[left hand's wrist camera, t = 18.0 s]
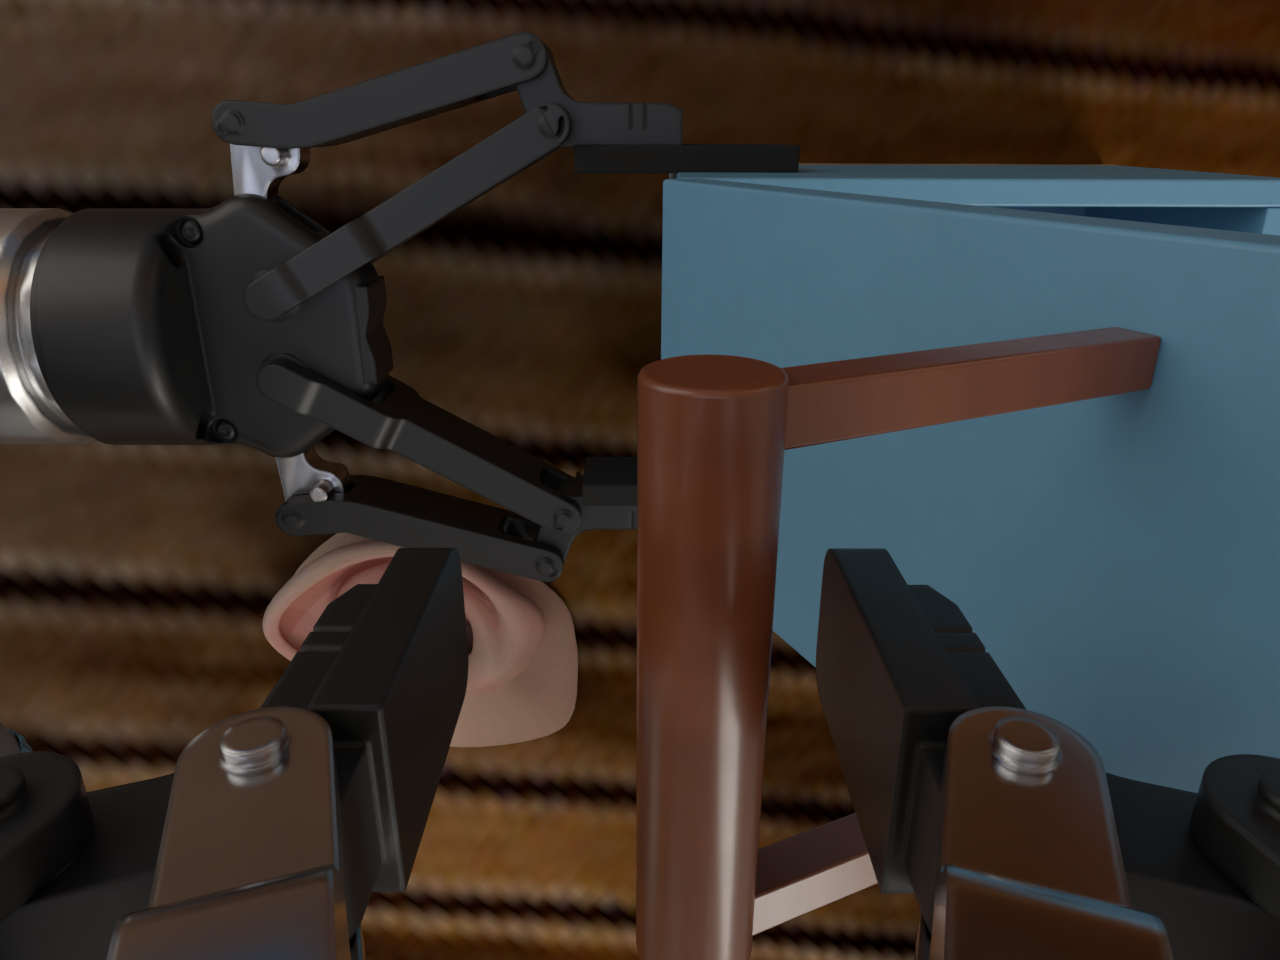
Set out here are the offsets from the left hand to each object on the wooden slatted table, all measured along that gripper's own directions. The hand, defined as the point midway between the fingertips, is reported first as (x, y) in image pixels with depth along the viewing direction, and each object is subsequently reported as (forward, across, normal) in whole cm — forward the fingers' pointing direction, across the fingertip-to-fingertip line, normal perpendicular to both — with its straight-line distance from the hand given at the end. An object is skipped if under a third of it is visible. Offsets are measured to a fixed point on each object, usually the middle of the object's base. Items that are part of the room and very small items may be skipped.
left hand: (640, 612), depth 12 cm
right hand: (+18, -5, 0) cm, 19 cm away
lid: (+6, -5, 0) cm, 8 cm away
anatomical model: (+25, +9, +16) cm, 31 cm away
